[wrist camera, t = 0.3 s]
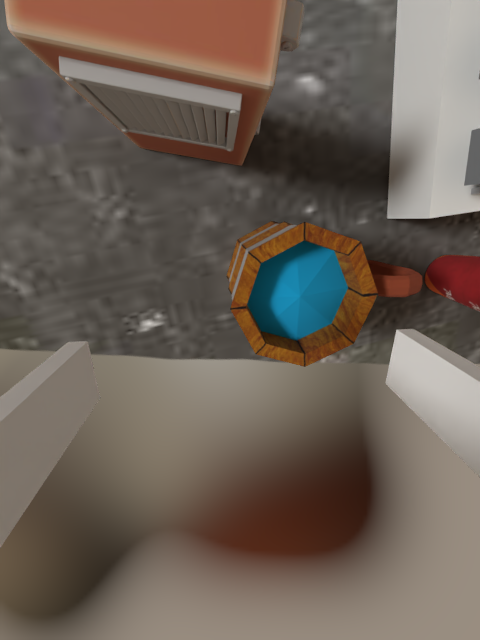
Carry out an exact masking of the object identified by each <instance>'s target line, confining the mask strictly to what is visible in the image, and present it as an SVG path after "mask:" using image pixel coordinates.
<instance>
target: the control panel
mask: <svg viewBox="0 0 480 640" xmlns="http://www.w3.org/2000/svg"><path fill="white" fill-rule="evenodd" d="M4 1H5V10H6V19H7V26H8V28H9V31H10V32H11V34H13V35H14V36H15V37H16V38H17V39H18V40H19V41H20V42H22V43H23V44H24V45H25V46H26V47H27V48H28V49H29V50H31V51H32V52H33V53H34V54H35V55H36V56H37V57H38V58H40V59H41V60H42V61H43V62H44V63H45V64H46V65H47V66H49V67H50V68H51V69H52V70H53V71H54V72H55V73H56V74H58V75H59V76H60V77H61V78H62V79H63V80H64V81H65V82H67V83H68V84H69V85H70V86H71V87H72V88H73V89H74V90H76V91H77V92H78V93H79V94H80V95H81V96H82V97H83V98H85V99H86V100H87V101H88V102H89V103H90V104H91V105H92V106H94V107H95V108H96V109H97V110H98V111H99V112H100V113H101V114H103V115H104V116H105V117H106V118H107V119H108V120H109V121H110V122H111V123H113V124H114V125H115V126H116V127H117V128H118V129H119V130H120V131H122V132H123V133H124V134H125V135H126V136H127V137H128V138H129V139H131V140H132V141H133V142H134V143H135V144H136V145H137V146H138V147H140V148H144V149H149V150H155V151H161V152H166V153H172V154H178V155H183V156H189V157H194V158H200V159H206V160H211V161H217V162H223V163H228V164H234V165H240V166H241V165H242V164H243V162H244V160H245V157H246V155H247V152H248V150H249V147H250V145H251V142H252V140H253V137H254V135H258V134H259V131H260V124H261V117H262V115H263V112H264V110H265V107H266V105H267V102H268V100H269V97H270V95H271V92H272V90H273V87H274V85H275V79H276V72H277V66H278V59H279V52H280V50H281V51H293V50H294V49H296V48H297V47H298V46H299V41H300V35H301V29H302V23H303V17H304V6H303V3H301V2H298V1H296V0H4Z"/></svg>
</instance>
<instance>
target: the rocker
mask: <svg viewBox="0 0 480 640" xmlns="http://www.w3.org/2000/svg"><path fill="white" fill-rule="evenodd" d="M473 184H480V128H478V129H475V130H472V131H471V138H470V146H469V153H468V160H467V167H466V175H465V182H464V186H466V185H473Z"/></svg>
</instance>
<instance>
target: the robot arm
mask: <svg viewBox="0 0 480 640" xmlns="http://www.w3.org/2000/svg"><path fill="white" fill-rule="evenodd" d="M386 384H387V385H388V386H389V387H390V388H391V389H392V390H393V391H394V392H395V393H396V394H397V395H398V396H399V397H400V398H401V399H402V400H403V401H404V402H405V403H406V404H407V405H408V406H409V407H410V408H411V409H412V410H413V411H414V412H415V413H416V414H417V415H418V416H419V417H420V418H421V419H422V420H423V421H424V422H425V423H426V424H427V425H428V426H429V427H430V428H431V429H432V430H433V431H434V432H435V433H436V434H437V435H438V436H439V437H440V438H441V439H442V440H443V441H444V442H445V443H446V444H447V445H448V446H449V447H450V448H451V449H452V450H453V451H454V452H455V453H456V454H457V455H458V456H459V457H460V458H461V459H462V460H463V461H464V462H465V463H466V464H467V465H468V466H469V467H470V468H471V469H472V470H473V471H474V472H475V473H476V474H477V475H478V476H479V477H480V367H479V366H477V365H475V364H474V363H472V362H470V361H468V360H467V359H465V358H463V357H461V356H460V355H458V354H456V353H454V352H453V351H451V350H449V349H448V348H446V347H444V346H442V345H441V344H439V343H437V342H435V341H434V340H432V339H430V338H428V337H427V336H425V335H423V334H421V333H420V332H418V331H416V330H414V329H400V330H396V335H395V340H394V345H393V350H392V354H391V359H390V364H389V369H388V374H387V379H386ZM99 399H100V394H99V389H98V385H97V381H96V376H95V372H94V368H93V363H92V359H91V355H90V350H89V346H88V341H84V342H68V343H66V344H65V345H64V346H63V347H61V348H60V349H59V350H58V351H57V352H55V353H54V354H53V355H52V356H50V357H49V358H48V359H47V360H46V361H44V362H43V363H42V364H41V365H39V366H38V367H37V368H36V369H34V370H33V371H32V372H31V373H30V374H28V375H27V376H26V377H25V378H23V379H22V380H21V381H20V382H18V383H17V384H16V385H15V386H13V387H12V388H11V389H10V390H9V391H7V392H6V393H5V394H4V395H2V396H1V397H0V547H1V546H2V544H3V543H4V541H5V540H6V538H7V537H8V535H9V534H10V532H11V531H12V529H13V528H14V526H15V525H16V523H17V522H18V520H19V519H20V517H21V516H22V514H23V513H24V511H25V510H26V508H27V507H28V505H29V504H30V502H31V501H32V499H33V498H34V496H35V495H36V493H37V492H38V490H39V489H40V487H41V486H42V484H43V483H44V481H45V480H46V478H47V477H48V475H49V474H50V472H51V471H52V469H53V468H54V466H55V465H56V463H57V462H58V460H59V459H60V457H61V456H62V454H63V453H64V451H65V450H66V448H67V447H68V445H69V444H70V442H71V441H72V439H73V438H74V436H75V435H76V433H77V432H78V430H79V429H80V427H81V426H82V424H83V423H84V422H85V420H86V419H87V417H88V416H89V414H90V413H91V411H92V410H93V408H94V407H95V405H96V404H97V402H98V401H99Z"/></svg>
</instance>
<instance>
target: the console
mask: <svg viewBox="0 0 480 640" xmlns="http://www.w3.org/2000/svg"><path fill="white" fill-rule="evenodd" d="M479 73H480V0H398V4H397V24H396V45H395V65H394V86H393V106H392V127H391V148H390V168H389V189H388V209H387V219H423V218H436V217H442V216H449V215H455V214H462V213H469V212H475V211H480V184H473V185H466V186H464V182H465V175H466V167H467V160H468V153H469V146H470V138H471V131H472V130H475V129H478V128H480V80H479Z"/></svg>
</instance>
